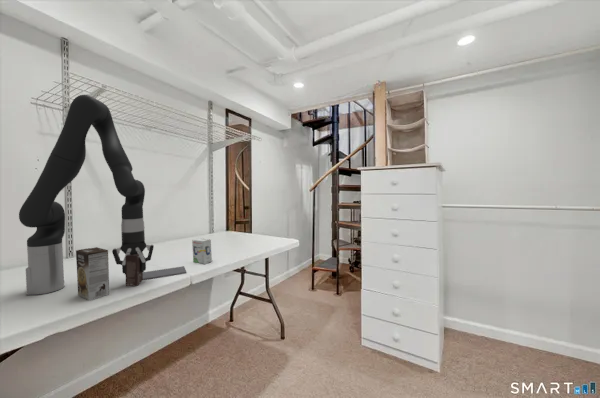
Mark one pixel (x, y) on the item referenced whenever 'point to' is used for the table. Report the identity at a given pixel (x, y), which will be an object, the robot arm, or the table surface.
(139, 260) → the box
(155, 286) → the table surface
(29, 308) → the table surface
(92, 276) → the coffee box
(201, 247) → the ink box
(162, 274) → the mat
